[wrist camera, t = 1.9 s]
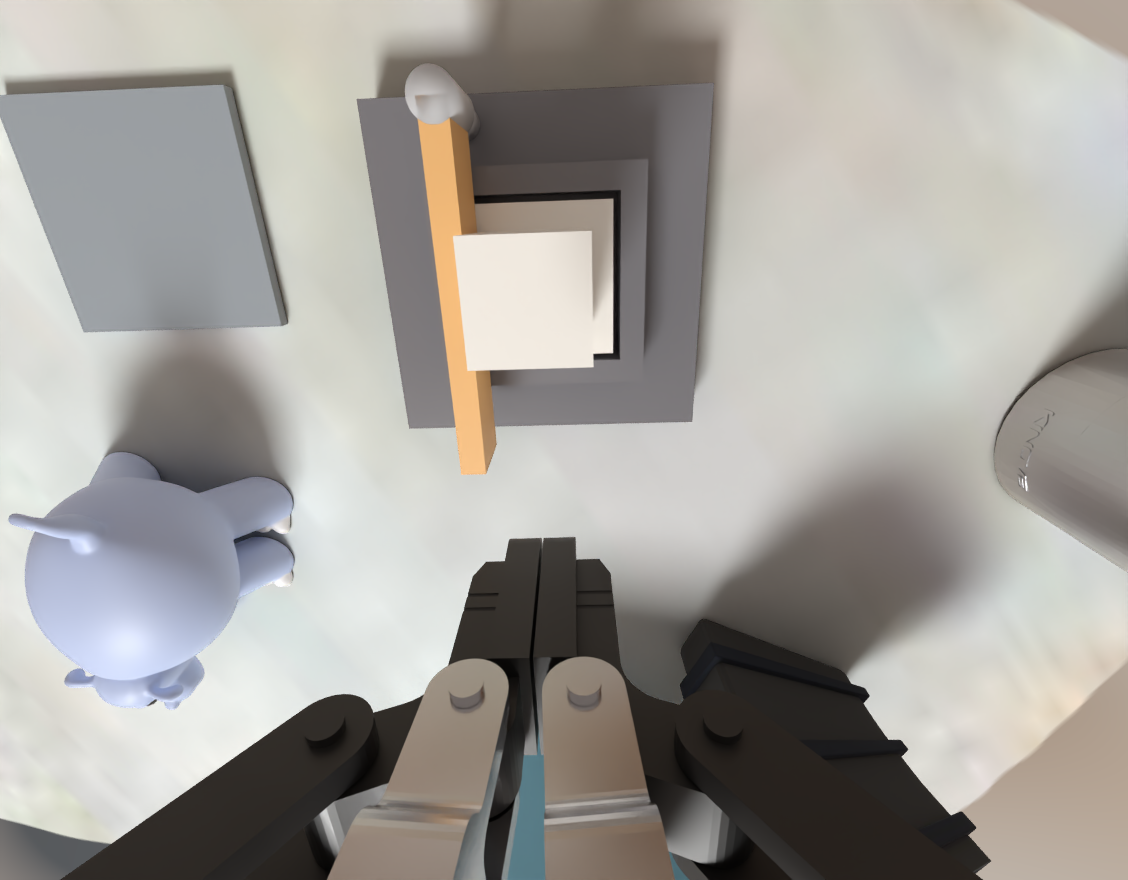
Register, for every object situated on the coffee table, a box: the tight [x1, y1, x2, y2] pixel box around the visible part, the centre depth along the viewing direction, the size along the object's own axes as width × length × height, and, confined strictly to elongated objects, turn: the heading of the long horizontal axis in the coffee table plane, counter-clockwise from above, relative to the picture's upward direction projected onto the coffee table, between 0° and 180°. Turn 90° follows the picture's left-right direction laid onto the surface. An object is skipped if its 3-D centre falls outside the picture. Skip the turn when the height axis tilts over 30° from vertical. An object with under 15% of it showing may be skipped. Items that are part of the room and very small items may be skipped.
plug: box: [453, 199, 613, 371], centre depth 19 cm, size 6×6×8 cm
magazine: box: [680, 619, 991, 874], centre depth 29 cm, size 4×13×15 cm, turn 66°
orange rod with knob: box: [405, 63, 497, 475], centre depth 20 cm, size 2×14×3 cm, turn 2°
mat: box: [0, 85, 288, 332], centre depth 24 cm, size 10×10×1 cm
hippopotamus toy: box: [8, 452, 294, 710], centre depth 27 cm, size 11×15×10 cm
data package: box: [507, 734, 689, 880], centre depth 32 cm, size 12×4×12 cm, turn 81°
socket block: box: [357, 83, 714, 429], centre depth 23 cm, size 14×14×4 cm
